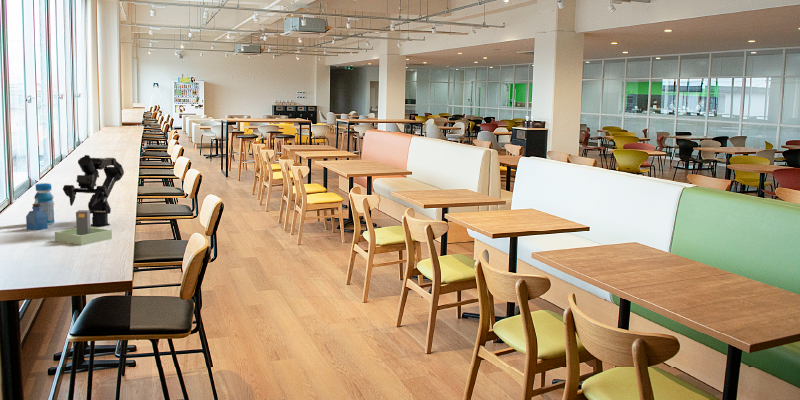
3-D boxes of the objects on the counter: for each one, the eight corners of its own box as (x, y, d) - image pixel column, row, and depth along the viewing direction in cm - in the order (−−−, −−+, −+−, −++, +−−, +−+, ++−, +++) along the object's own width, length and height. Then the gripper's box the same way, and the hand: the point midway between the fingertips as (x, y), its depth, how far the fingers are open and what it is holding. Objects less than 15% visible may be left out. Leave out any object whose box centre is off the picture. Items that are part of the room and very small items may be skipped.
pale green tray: (86, 234, 279) (86, 226, 278) (111, 238, 273) (111, 230, 272) (55, 240, 264) (54, 231, 263) (81, 245, 258) (80, 236, 257)
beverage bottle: (45, 225, 294) (44, 185, 291) (31, 224, 296) (29, 184, 293) (58, 222, 302) (57, 183, 299) (44, 221, 304) (42, 182, 301)
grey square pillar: (79, 236, 270) (78, 210, 268) (90, 236, 271) (89, 210, 269) (76, 238, 265) (75, 212, 263) (87, 238, 266) (87, 212, 264)
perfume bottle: (47, 228, 289) (46, 203, 287) (36, 230, 283) (35, 205, 281) (38, 227, 291) (37, 202, 289) (26, 229, 285) (25, 204, 283)
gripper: (63, 167, 279) (54, 194, 270) (105, 169, 281) (97, 195, 272) (71, 182, 288) (62, 208, 279) (112, 183, 290) (104, 209, 281)
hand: (81, 205), depth 277 cm, fingers open, 9 cm apart
